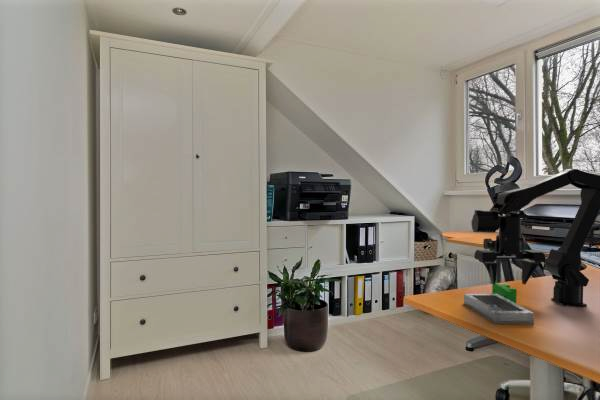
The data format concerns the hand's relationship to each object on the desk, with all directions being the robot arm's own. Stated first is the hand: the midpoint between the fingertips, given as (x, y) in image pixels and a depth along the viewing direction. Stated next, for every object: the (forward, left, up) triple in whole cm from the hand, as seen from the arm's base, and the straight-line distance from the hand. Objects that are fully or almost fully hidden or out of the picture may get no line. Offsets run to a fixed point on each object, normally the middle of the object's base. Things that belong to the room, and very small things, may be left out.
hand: (508, 284), depth 112 cm
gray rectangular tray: (+10, +11, -5) cm, 15 cm away
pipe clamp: (+1, 0, -6) cm, 6 cm away
